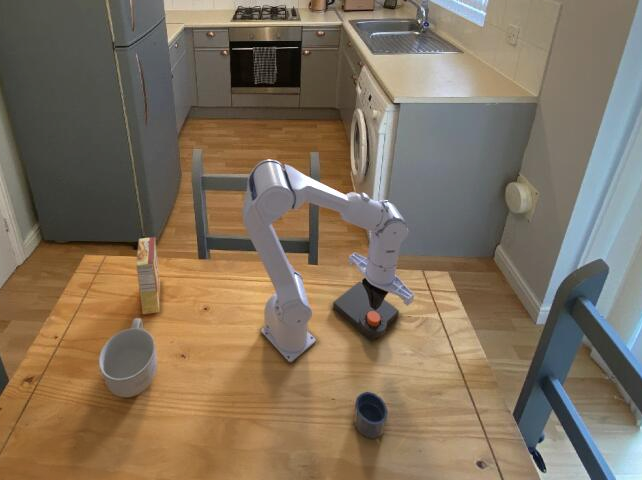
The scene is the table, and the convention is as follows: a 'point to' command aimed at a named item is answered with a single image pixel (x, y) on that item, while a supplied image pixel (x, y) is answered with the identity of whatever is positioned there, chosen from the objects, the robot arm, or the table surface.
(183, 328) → the table surface
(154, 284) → the candy box
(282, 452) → the table surface
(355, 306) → the scale
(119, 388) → the teacup
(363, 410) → the cup
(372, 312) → the tare button
